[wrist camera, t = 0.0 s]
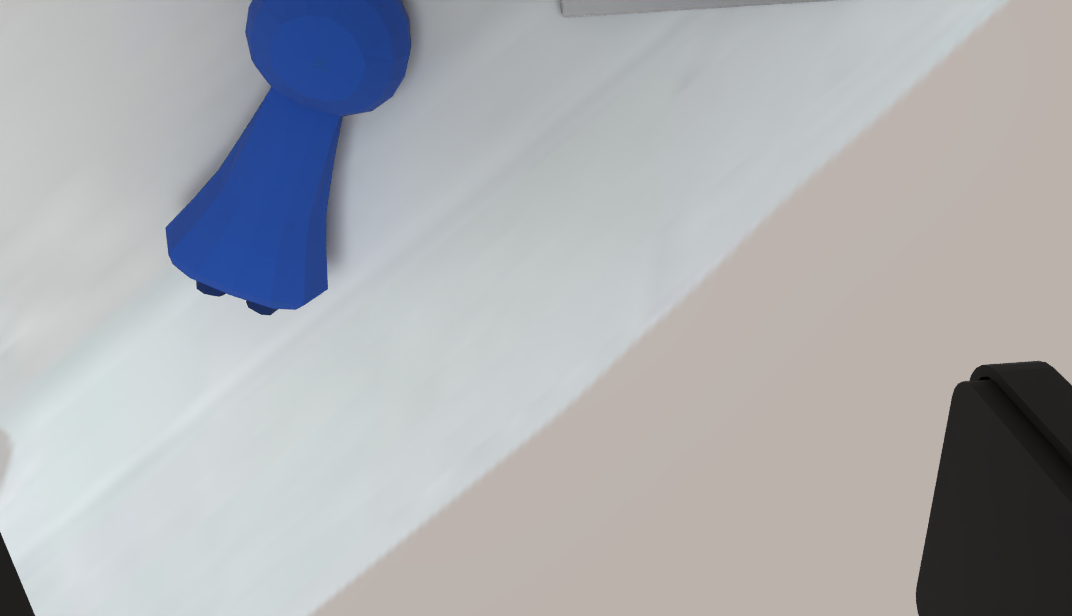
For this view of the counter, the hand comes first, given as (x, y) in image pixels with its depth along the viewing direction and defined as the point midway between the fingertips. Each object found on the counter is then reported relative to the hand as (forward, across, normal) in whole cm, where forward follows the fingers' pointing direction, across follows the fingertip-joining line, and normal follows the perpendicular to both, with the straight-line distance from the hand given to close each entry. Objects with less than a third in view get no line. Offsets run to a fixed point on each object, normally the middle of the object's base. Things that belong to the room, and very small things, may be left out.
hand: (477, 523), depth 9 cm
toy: (+32, +8, +5) cm, 33 cm away
